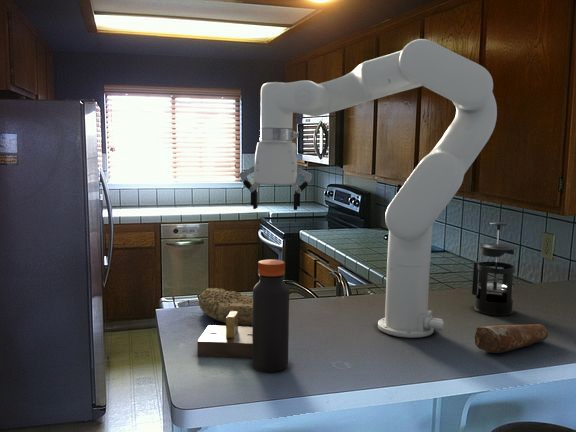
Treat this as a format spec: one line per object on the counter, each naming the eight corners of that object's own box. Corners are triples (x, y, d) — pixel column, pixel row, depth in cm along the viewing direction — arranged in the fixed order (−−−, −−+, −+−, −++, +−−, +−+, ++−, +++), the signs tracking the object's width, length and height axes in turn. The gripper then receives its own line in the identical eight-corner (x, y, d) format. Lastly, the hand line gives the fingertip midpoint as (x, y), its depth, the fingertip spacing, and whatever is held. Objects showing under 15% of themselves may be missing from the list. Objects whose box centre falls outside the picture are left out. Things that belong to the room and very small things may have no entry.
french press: (523, 313, 142) (529, 223, 139) (499, 319, 137) (505, 226, 134) (484, 302, 152) (490, 218, 149) (461, 307, 147) (466, 220, 144)
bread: (470, 350, 116) (472, 323, 115) (532, 336, 125) (534, 312, 124) (495, 360, 110) (496, 333, 110) (557, 345, 119) (559, 320, 119)
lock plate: (264, 340, 119) (264, 326, 119) (257, 358, 109) (258, 343, 109) (208, 338, 120) (208, 324, 120) (197, 355, 110) (197, 340, 110)
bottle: (259, 375, 101) (260, 267, 99) (247, 361, 107) (247, 259, 105) (293, 369, 104) (295, 264, 102) (279, 357, 110) (281, 257, 108)
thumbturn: (230, 329, 117) (230, 309, 116) (238, 329, 117) (238, 310, 116) (225, 337, 112) (225, 317, 111) (233, 338, 112) (233, 317, 111)
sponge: (193, 316, 139) (212, 324, 120) (197, 285, 140) (217, 288, 121) (243, 321, 143) (269, 329, 125) (247, 290, 144) (273, 294, 126)
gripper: (313, 137, 135) (312, 208, 137) (242, 136, 136) (241, 206, 138) (312, 136, 127) (311, 211, 129) (237, 135, 128) (236, 209, 130)
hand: (275, 208), depth 134 cm, fingers open, 9 cm apart
